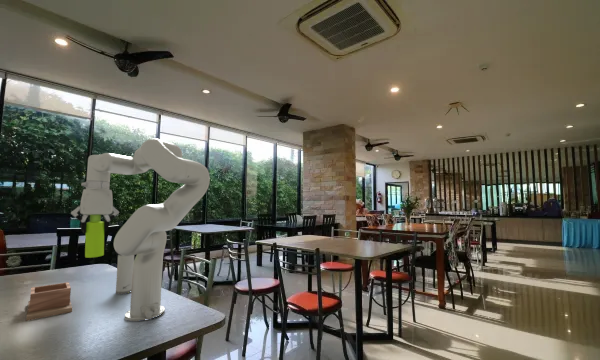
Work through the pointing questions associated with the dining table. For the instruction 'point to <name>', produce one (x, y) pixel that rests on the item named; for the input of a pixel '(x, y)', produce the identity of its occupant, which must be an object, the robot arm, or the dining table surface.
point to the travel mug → (124, 274)
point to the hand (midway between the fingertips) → (94, 231)
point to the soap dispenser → (94, 237)
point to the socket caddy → (49, 301)
